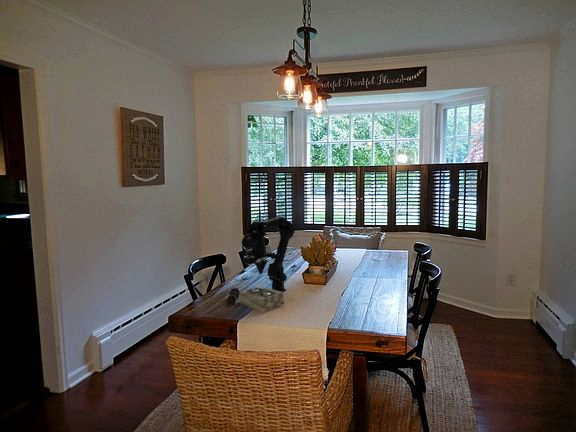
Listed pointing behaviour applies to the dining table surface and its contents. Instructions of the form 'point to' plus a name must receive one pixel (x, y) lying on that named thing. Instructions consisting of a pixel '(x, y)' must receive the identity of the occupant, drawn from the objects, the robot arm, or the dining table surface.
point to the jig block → (261, 298)
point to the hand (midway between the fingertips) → (260, 273)
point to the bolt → (233, 296)
